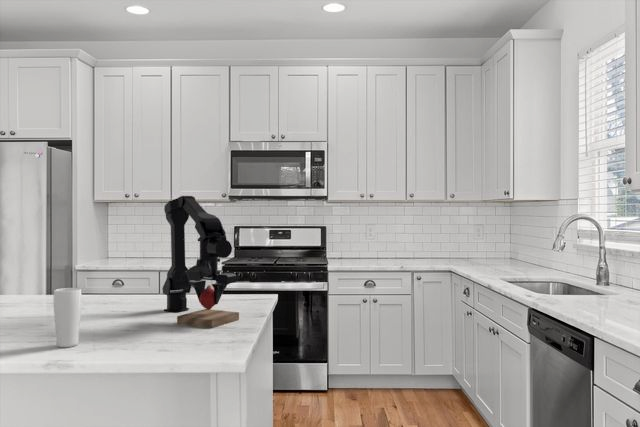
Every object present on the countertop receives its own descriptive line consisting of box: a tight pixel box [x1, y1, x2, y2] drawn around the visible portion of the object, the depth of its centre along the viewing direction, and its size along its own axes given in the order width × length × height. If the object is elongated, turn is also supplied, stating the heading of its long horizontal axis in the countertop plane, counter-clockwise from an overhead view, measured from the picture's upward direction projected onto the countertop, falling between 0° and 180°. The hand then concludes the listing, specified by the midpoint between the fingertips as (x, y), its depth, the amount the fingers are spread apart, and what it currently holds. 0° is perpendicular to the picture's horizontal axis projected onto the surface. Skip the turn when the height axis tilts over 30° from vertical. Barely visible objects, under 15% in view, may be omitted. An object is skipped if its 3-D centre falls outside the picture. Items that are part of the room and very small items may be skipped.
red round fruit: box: [198, 284, 215, 310], centre depth 167 cm, size 6×6×8 cm
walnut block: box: [176, 308, 240, 329], centre depth 167 cm, size 14×14×3 cm
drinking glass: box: [53, 287, 83, 349], centre depth 137 cm, size 7×7×15 cm
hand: (208, 303), depth 167 cm, fingers closed on red round fruit, 6 cm apart
